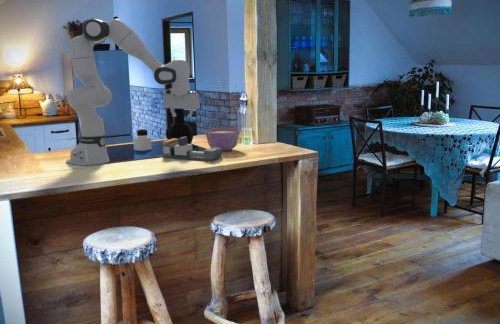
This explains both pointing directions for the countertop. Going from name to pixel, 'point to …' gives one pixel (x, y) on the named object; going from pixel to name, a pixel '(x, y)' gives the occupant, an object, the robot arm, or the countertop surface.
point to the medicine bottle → (142, 140)
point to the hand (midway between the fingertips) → (182, 117)
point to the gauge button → (170, 141)
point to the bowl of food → (222, 138)
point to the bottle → (180, 128)
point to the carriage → (183, 146)
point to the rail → (192, 153)
